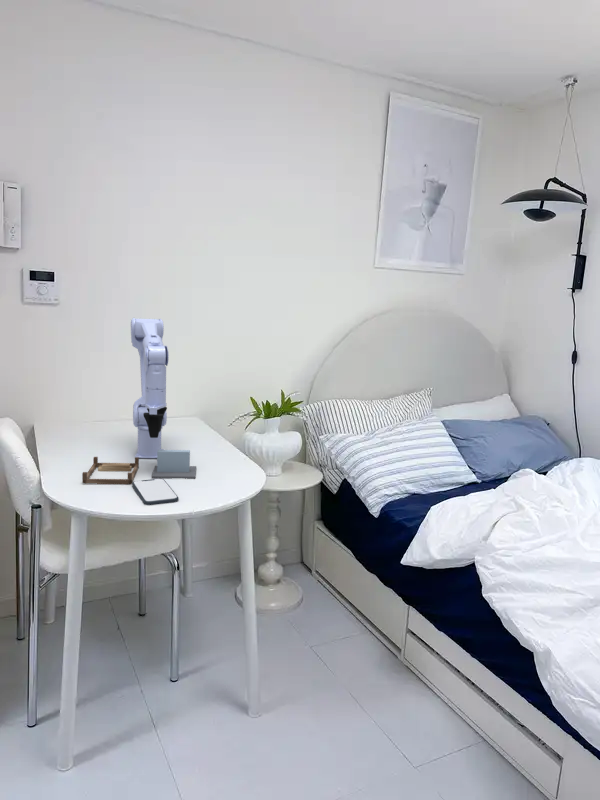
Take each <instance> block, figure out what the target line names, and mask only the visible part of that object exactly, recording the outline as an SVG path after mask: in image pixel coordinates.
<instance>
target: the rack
mask: <svg viewBox="0 0 600 800" xmlns="http://www.w3.org/2000/svg"><path fill="white" fill-rule="evenodd" d="M98 459H99V457H98V456H93V464H92V465H91V466H90V467H89V469H88V471H83V472H82V473H81V474H82V475H81V476H82V483H97V484H96V485H132V483H133V482H134V481H135V480H134V479H135V477H136V475H137V472H138V470H139V469H140V468H139V467H140V463H139V462H140V458H139V457H135V456H134V462H129V463H130V466H132V470H131V472H130V471H127V478H91V477H90V476H93V474H94V472H95V471H96V469H97V468H96V467H99V466H102V464H103V463H104V462H99V460H98ZM94 470H95V471H94ZM92 473H93V474H92Z"/></svg>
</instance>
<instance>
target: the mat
mask: <svg viewBox="0 0 600 800" xmlns="http://www.w3.org/2000/svg"><path fill="white" fill-rule="evenodd" d="M196 477H197V465H190V470H189V472H157V465H154V468H153V471H152V474H151V479H172V478H185V480H186V478H187V480H188V479H193V480H194V479H196Z"/></svg>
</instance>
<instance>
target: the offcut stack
mask: <svg viewBox="0 0 600 800" xmlns="http://www.w3.org/2000/svg"><path fill="white" fill-rule="evenodd" d="M102 463H103V464H102V466H99V467H98V468H97V471H98V472H132V470H133V468H132V466H130V463H131V462H102Z"/></svg>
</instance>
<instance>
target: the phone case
mask: <svg viewBox="0 0 600 800" xmlns="http://www.w3.org/2000/svg"><path fill="white" fill-rule="evenodd" d="M131 485H132V487H131V488H132V489H133V490H134V492H135V493H136V495H137V496H138V498H139V499H140V501H141V502H142V504H143V505H144V506H156V505H164V504H165V505H166V504H172V503H173V504H174V503H178V502H179V500H180V499H179V496H178V494H176V493H175V491H174V490H173V489H172V487H171V486H170V485H169V484H168V483H167V481H166V479H165V478H151V479H143V480H133V482H132V484H131Z"/></svg>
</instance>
